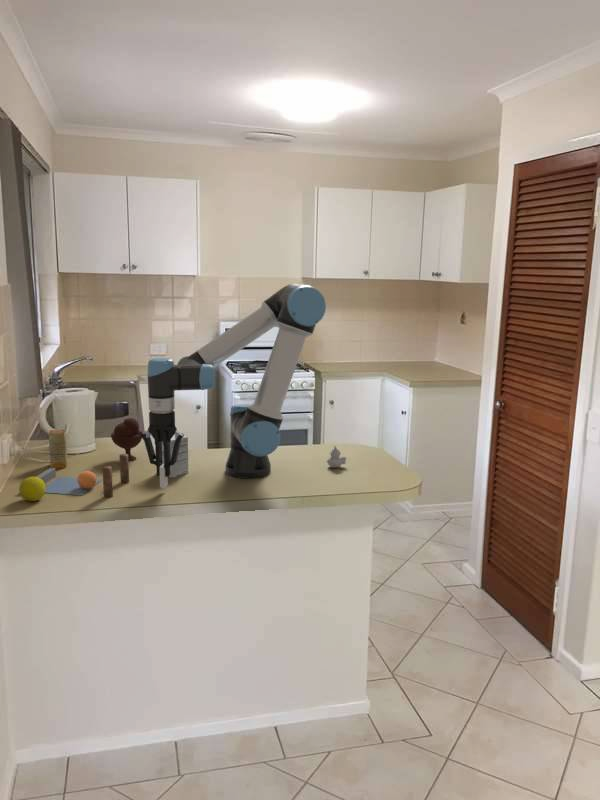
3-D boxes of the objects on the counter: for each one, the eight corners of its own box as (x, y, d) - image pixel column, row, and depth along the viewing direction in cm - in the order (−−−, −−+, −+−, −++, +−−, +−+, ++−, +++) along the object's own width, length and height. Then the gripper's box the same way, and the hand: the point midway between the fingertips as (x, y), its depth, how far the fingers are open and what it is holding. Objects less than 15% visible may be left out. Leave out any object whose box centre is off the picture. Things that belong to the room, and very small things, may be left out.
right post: (130, 481, 207) (129, 454, 205) (127, 483, 205) (126, 456, 203) (122, 480, 208) (121, 453, 206) (119, 483, 205) (118, 456, 203)
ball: (79, 470, 202) (84, 486, 203) (72, 475, 197) (77, 492, 198) (96, 467, 202) (100, 483, 203) (89, 472, 196) (94, 489, 197)
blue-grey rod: (55, 476, 211) (55, 468, 210) (29, 493, 195) (28, 485, 195) (50, 475, 211) (49, 468, 211) (23, 492, 196) (22, 484, 195)
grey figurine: (325, 465, 227) (326, 443, 226) (344, 464, 228) (345, 442, 226) (328, 470, 222) (329, 447, 220) (347, 469, 223) (348, 447, 221)
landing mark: (101, 480, 208) (101, 479, 208) (81, 495, 194) (81, 494, 194) (60, 477, 210) (60, 476, 210) (37, 492, 196) (37, 491, 196)
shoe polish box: (67, 463, 224) (65, 429, 221) (66, 467, 219) (64, 433, 217) (52, 464, 223) (49, 430, 220) (50, 468, 218) (48, 434, 215)
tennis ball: (42, 504, 187) (40, 481, 185) (16, 504, 186) (14, 481, 185) (49, 495, 194) (47, 473, 192) (24, 496, 193) (23, 473, 192)
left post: (114, 495, 195) (113, 466, 193) (110, 498, 193) (109, 469, 191) (106, 494, 195) (104, 465, 194) (102, 497, 193) (101, 468, 191)
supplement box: (157, 472, 216) (156, 436, 213) (175, 468, 221) (174, 432, 219) (170, 478, 211) (169, 440, 208) (189, 473, 216) (188, 436, 214)
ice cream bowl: (134, 453, 237) (132, 413, 234) (149, 460, 229) (148, 418, 226) (106, 458, 230) (104, 417, 226) (122, 466, 222) (120, 423, 218)
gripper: (135, 412, 190) (138, 489, 195) (179, 414, 188) (180, 491, 193) (145, 406, 197) (147, 480, 202) (186, 408, 196) (188, 483, 201)
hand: (163, 486), depth 198 cm, fingers closed
